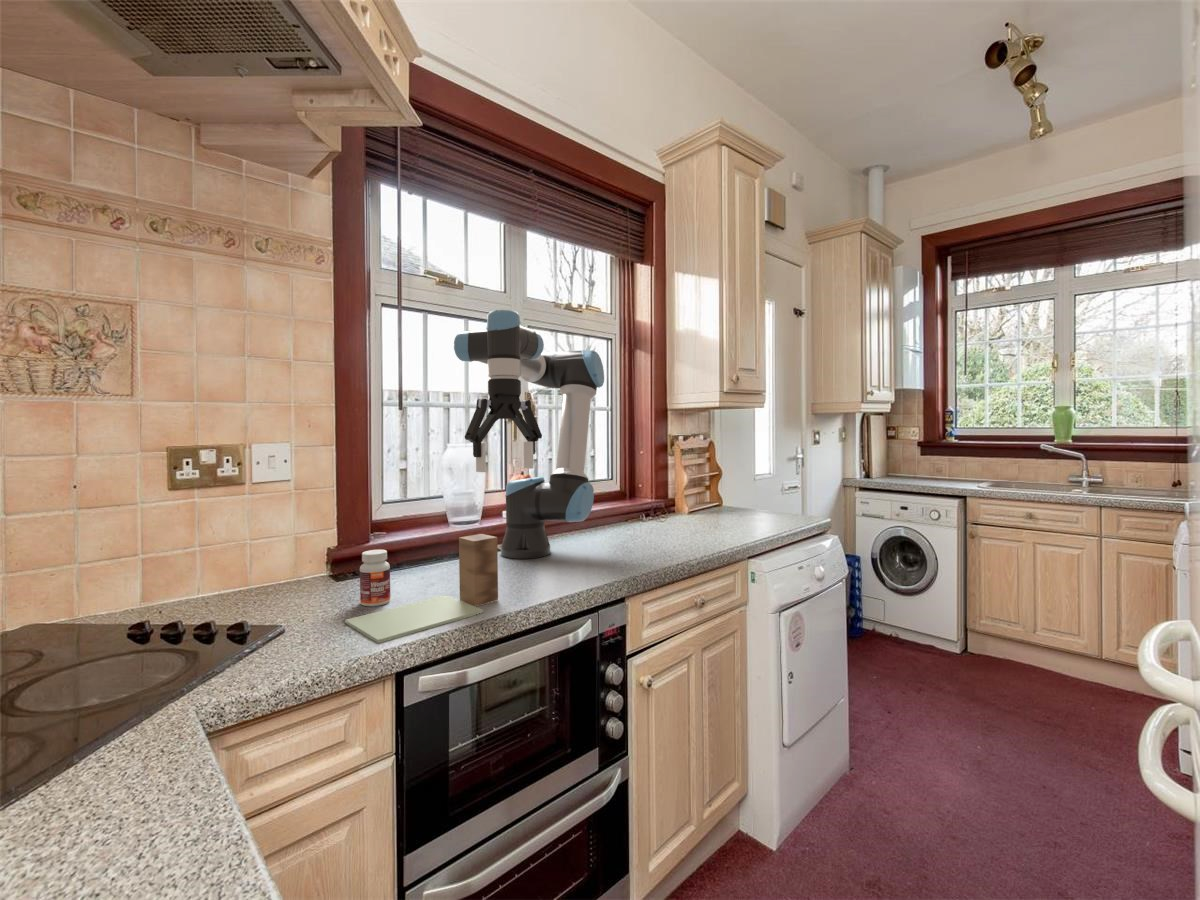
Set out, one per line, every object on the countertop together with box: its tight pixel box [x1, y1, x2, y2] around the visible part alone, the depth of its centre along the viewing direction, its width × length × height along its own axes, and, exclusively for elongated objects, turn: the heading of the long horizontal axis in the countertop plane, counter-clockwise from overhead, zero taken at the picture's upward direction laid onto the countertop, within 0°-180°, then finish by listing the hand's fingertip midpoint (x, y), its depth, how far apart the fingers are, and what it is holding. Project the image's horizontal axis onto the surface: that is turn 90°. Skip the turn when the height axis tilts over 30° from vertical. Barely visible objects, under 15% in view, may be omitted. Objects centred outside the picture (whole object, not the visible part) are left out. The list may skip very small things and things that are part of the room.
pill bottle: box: [359, 549, 391, 608], centre depth 119 cm, size 6×6×11 cm
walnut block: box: [458, 533, 499, 607], centre depth 120 cm, size 6×6×14 cm
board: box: [344, 594, 484, 644], centre depth 110 cm, size 22×15×1 cm
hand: (505, 470), depth 126 cm, fingers open, 13 cm apart
